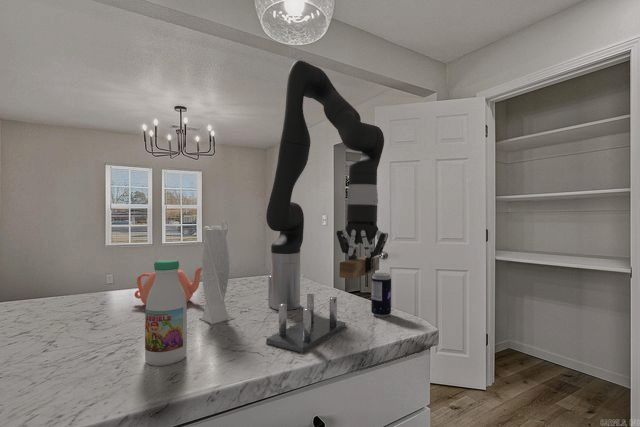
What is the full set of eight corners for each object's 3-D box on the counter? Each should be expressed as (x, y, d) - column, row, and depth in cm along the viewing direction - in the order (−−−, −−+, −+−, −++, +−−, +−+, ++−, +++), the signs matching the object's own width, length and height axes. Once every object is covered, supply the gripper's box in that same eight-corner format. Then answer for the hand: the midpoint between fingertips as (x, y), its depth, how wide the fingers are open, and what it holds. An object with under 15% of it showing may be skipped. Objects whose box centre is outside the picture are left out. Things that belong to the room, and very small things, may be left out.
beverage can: (391, 318, 97) (391, 276, 97) (370, 317, 98) (371, 275, 98) (390, 312, 103) (391, 272, 103) (371, 311, 104) (372, 272, 104)
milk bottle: (154, 351, 73) (154, 258, 73) (191, 350, 74) (191, 257, 74) (138, 367, 66) (138, 263, 66) (179, 366, 66) (180, 263, 66)
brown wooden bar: (352, 279, 79) (353, 264, 79) (339, 277, 81) (339, 262, 81) (379, 269, 92) (379, 256, 92) (367, 268, 94) (367, 255, 94)
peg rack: (266, 343, 78) (266, 307, 78) (313, 320, 95) (313, 290, 95) (302, 353, 73) (302, 314, 73) (345, 326, 90) (345, 295, 90)
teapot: (209, 296, 122) (209, 261, 122) (201, 308, 106) (202, 268, 106) (142, 298, 118) (142, 262, 118) (125, 311, 103) (125, 270, 103)
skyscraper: (237, 321, 95) (238, 220, 95) (211, 328, 89) (211, 220, 89) (221, 314, 101) (221, 219, 101) (195, 320, 95) (195, 220, 95)
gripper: (330, 202, 87) (329, 270, 87) (383, 203, 79) (381, 277, 80) (344, 203, 93) (342, 266, 93) (394, 204, 86) (392, 272, 86)
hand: (360, 271), depth 86 cm, fingers closed on brown wooden bar, 3 cm apart
